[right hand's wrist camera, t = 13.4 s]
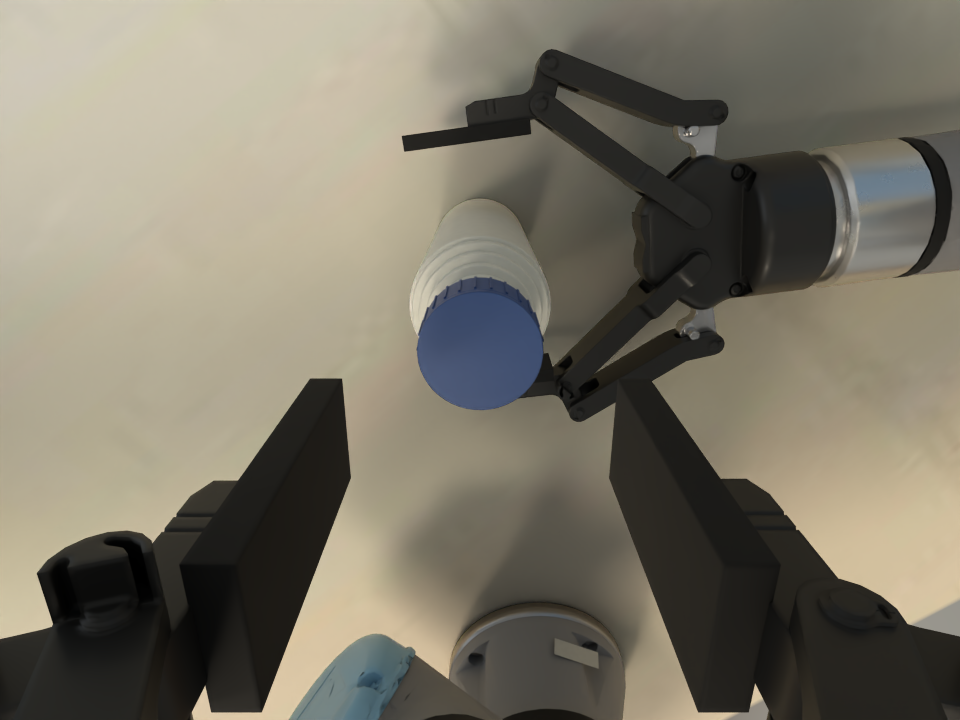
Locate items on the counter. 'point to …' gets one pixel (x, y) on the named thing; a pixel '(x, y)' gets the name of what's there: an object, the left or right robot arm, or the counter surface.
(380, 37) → the counter surface
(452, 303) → the cap
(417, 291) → the bottle
